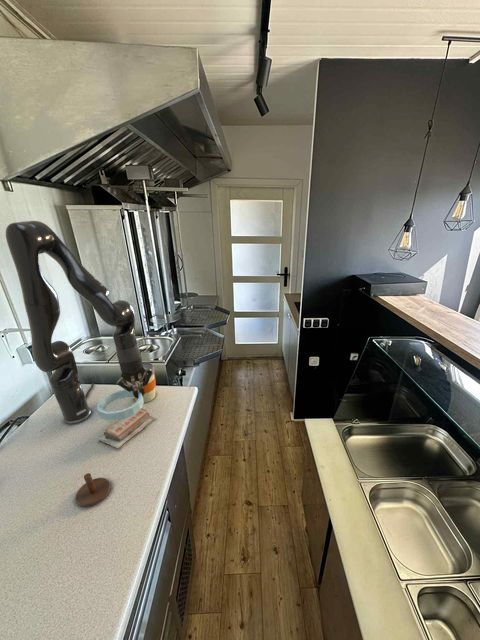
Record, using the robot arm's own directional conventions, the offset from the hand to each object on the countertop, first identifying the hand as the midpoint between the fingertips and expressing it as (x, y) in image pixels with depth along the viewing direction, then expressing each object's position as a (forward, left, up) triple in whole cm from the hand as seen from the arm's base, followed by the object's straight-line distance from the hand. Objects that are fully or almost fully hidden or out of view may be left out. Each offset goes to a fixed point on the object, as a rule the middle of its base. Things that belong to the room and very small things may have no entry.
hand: (139, 396), depth 110 cm
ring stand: (+21, -25, -12) cm, 35 cm away
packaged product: (0, -7, -12) cm, 14 cm away
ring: (0, -7, -1) cm, 7 cm away
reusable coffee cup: (-17, +7, -13) cm, 22 cm away
